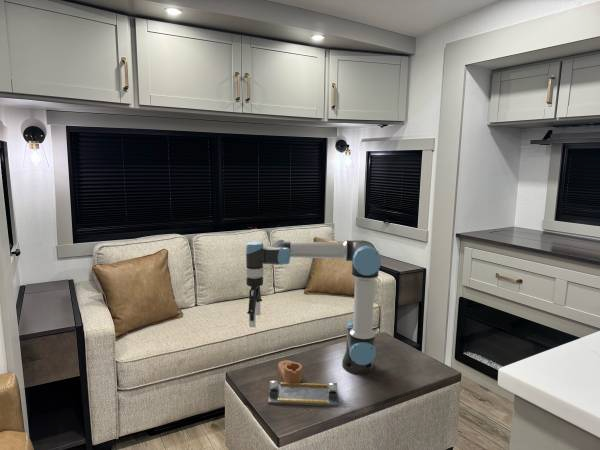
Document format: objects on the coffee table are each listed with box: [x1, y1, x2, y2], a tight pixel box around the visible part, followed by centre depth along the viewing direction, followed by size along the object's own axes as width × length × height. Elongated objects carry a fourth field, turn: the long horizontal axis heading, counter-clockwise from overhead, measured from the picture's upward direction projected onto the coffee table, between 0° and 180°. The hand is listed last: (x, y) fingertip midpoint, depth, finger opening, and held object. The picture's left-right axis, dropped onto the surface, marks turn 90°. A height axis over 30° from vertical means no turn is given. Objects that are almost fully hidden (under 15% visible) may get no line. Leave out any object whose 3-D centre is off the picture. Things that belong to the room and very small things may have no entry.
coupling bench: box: [267, 380, 338, 407], centre depth 176 cm, size 29×13×6 cm, turn 87°
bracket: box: [277, 359, 303, 383], centre depth 193 cm, size 18×8×7 cm, turn 20°
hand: (255, 320), depth 187 cm, fingers open, 13 cm apart
